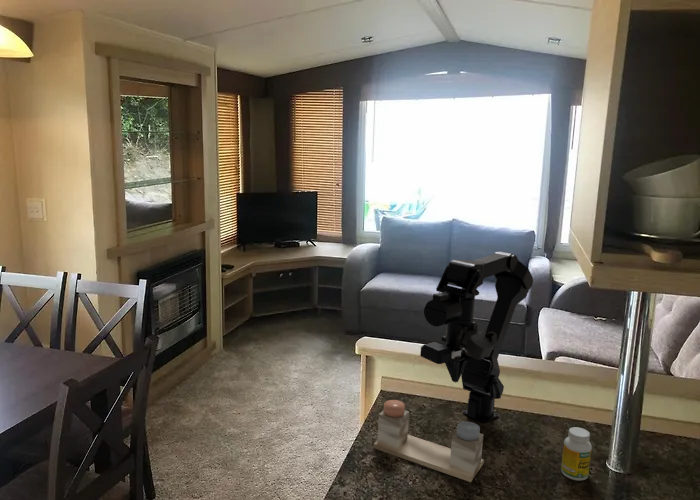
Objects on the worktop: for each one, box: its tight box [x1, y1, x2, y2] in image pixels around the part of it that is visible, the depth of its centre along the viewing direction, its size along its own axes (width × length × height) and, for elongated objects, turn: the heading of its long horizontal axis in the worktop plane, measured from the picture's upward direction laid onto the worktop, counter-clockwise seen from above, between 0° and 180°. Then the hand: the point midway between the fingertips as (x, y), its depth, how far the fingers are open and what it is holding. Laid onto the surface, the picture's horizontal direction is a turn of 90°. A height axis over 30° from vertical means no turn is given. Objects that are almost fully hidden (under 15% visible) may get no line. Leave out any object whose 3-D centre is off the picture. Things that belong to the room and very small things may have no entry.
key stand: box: [372, 409, 485, 483], centre depth 123 cm, size 8×22×8 cm, turn 59°
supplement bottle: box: [560, 426, 593, 482], centre depth 117 cm, size 5×5×10 cm
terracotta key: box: [383, 399, 406, 417], centre depth 126 cm, size 5×5×3 cm
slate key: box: [456, 420, 481, 441], centre depth 117 cm, size 5×5×3 cm
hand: (455, 381), depth 130 cm, fingers closed
